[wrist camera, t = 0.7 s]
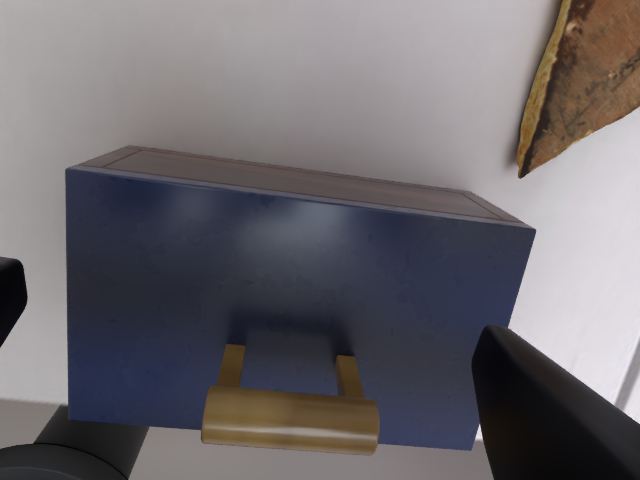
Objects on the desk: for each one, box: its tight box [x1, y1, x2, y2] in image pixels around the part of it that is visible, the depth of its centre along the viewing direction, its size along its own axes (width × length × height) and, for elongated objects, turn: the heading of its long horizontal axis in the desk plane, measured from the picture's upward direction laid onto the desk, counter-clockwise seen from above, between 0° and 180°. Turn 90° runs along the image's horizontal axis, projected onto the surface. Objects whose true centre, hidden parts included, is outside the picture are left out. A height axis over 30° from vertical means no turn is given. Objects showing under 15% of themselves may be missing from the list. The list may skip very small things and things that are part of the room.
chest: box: [78, 145, 525, 224], centre depth 20 cm, size 9×16×5 cm, turn 82°
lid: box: [65, 165, 536, 456], centre depth 15 cm, size 9×16×5 cm, turn 81°
